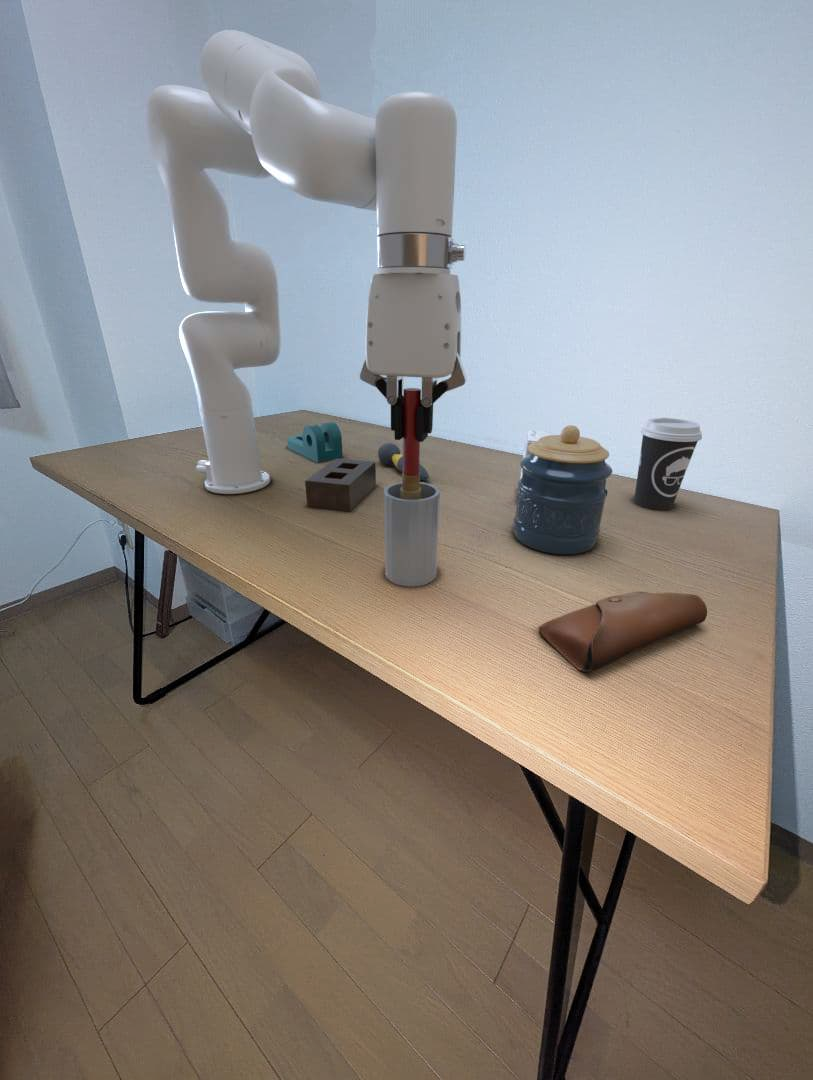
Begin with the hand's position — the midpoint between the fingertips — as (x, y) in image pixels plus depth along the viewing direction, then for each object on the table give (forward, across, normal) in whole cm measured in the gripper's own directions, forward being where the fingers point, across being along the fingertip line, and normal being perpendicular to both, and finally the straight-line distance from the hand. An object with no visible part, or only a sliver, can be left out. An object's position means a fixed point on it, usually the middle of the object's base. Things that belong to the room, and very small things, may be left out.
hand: (411, 437), depth 56 cm
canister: (+19, -19, -17) cm, 32 cm away
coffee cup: (+19, -37, -37) cm, 56 cm away
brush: (+11, 0, 0) cm, 11 cm away
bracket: (+19, +39, -51) cm, 67 cm away
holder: (+19, +20, -25) cm, 37 cm away
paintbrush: (+19, +13, -43) cm, 49 cm away
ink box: (+19, -15, -34) cm, 42 cm away
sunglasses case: (+19, -26, +6) cm, 33 cm away
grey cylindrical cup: (+19, 0, 0) cm, 19 cm away
